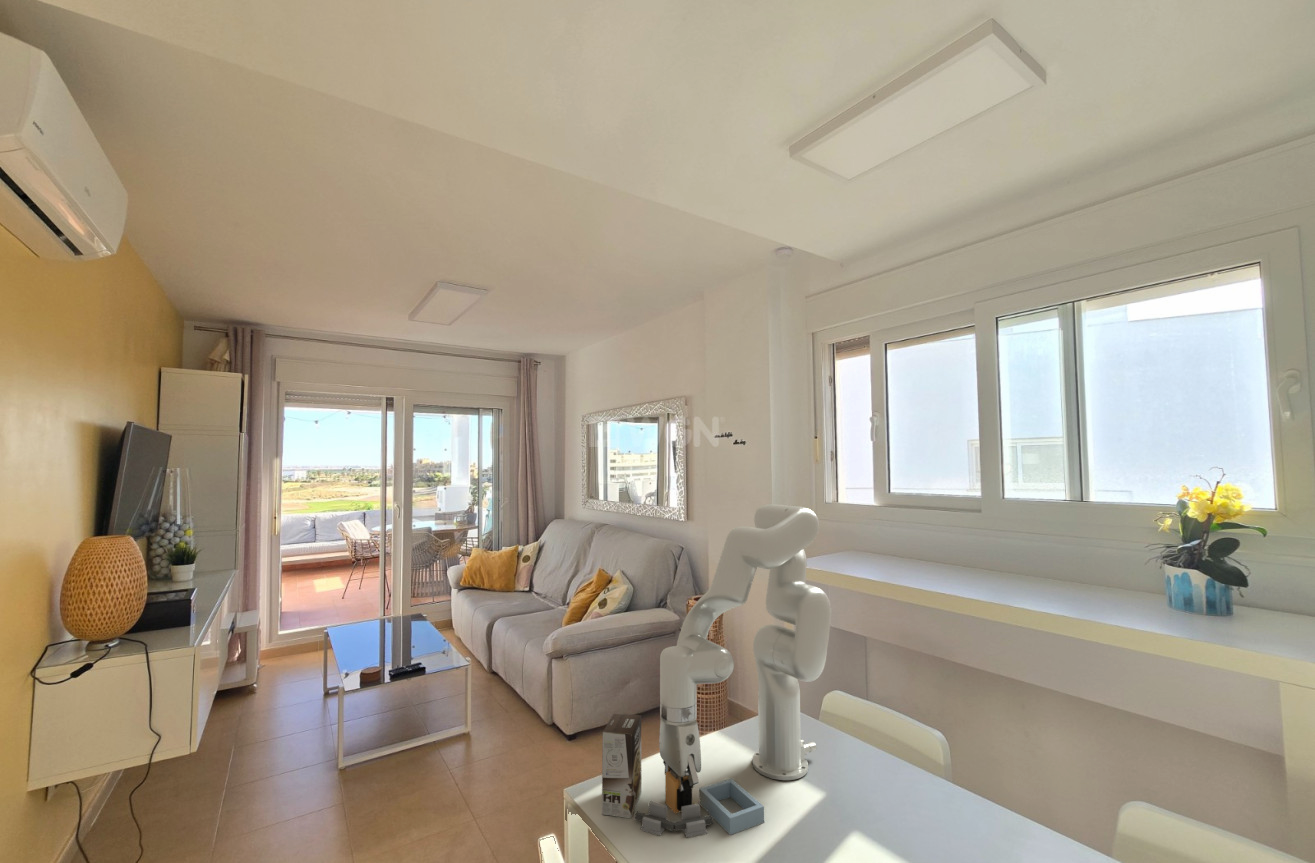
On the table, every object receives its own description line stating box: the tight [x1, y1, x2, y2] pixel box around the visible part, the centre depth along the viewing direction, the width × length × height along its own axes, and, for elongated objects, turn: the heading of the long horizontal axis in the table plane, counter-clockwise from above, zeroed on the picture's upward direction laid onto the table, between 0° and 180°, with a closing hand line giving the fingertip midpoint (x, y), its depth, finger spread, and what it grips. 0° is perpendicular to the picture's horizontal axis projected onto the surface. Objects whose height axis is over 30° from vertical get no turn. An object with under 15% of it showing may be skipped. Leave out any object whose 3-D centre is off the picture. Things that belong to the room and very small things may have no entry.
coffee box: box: [601, 713, 642, 819], centre depth 115 cm, size 9×6×16 cm
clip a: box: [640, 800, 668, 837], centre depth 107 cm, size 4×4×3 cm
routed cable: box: [634, 811, 714, 832], centre depth 107 cm, size 15×4×1 cm, turn 85°
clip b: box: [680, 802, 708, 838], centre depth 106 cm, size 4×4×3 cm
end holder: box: [698, 778, 765, 836], centre depth 111 cm, size 8×11×3 cm
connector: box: [664, 769, 688, 814], centre depth 114 cm, size 4×4×7 cm
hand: (678, 801), depth 114 cm, fingers closed on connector, 3 cm apart
